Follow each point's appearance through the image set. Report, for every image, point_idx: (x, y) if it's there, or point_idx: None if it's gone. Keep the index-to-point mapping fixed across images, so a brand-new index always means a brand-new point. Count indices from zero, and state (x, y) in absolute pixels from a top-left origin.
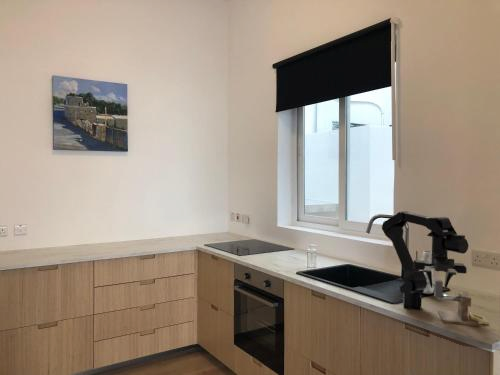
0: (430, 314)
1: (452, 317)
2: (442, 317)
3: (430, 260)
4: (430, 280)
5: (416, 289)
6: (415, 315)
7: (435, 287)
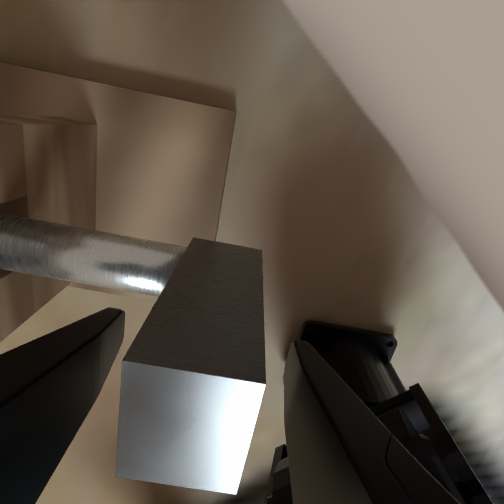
0: (266, 257)
1: (146, 183)
2: (216, 173)
3: None
4: (358, 420)
5: (388, 416)
6: (373, 224)
7: (263, 309)
